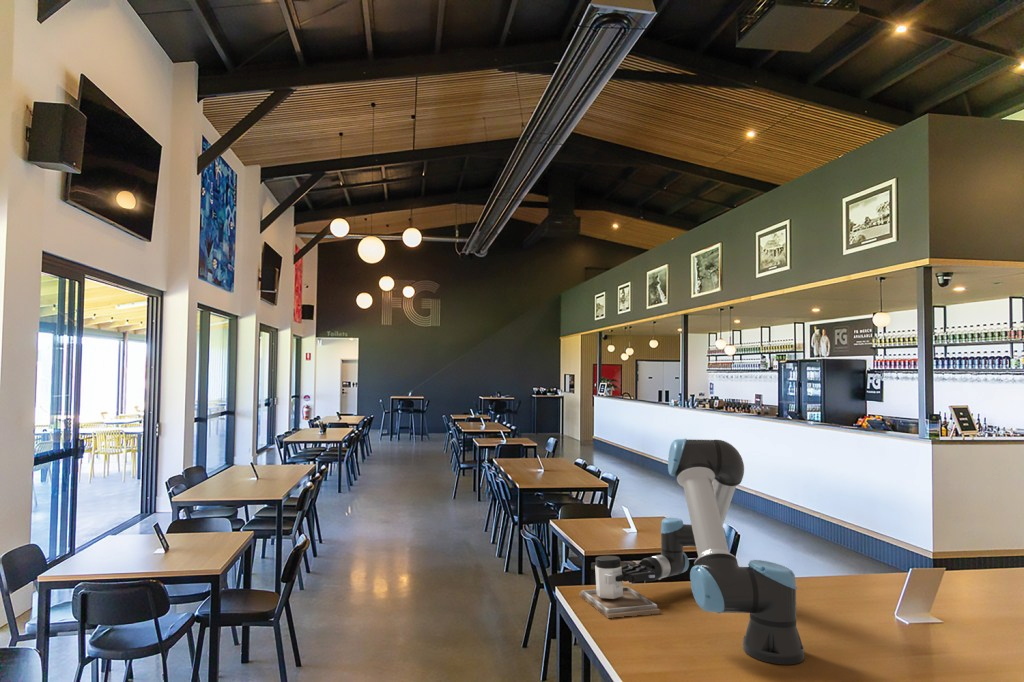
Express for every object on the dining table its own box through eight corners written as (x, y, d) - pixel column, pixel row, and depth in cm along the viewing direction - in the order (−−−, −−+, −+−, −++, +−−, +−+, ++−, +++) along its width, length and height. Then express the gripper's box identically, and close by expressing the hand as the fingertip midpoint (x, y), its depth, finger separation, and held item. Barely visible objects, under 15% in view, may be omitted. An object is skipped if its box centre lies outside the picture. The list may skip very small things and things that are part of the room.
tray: (660, 613, 194) (660, 606, 194) (608, 618, 189) (608, 611, 189) (626, 591, 215) (626, 585, 215) (579, 595, 209) (579, 589, 210)
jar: (609, 600, 198) (607, 561, 200) (591, 595, 205) (589, 558, 207) (628, 595, 204) (626, 557, 206) (610, 590, 210) (608, 554, 212)
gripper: (669, 584, 208) (621, 597, 193) (638, 574, 218) (591, 586, 204) (669, 561, 208) (622, 572, 194) (639, 552, 219) (591, 562, 205)
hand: (606, 579), depth 199 cm, fingers closed on jar
